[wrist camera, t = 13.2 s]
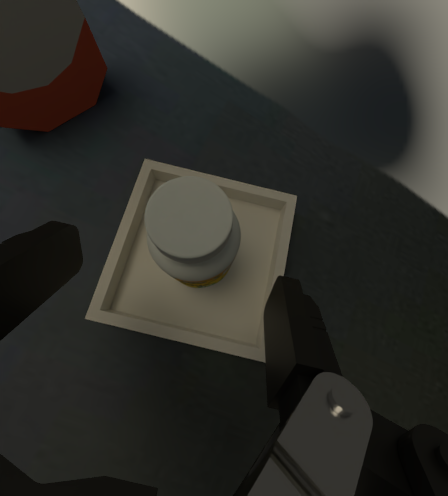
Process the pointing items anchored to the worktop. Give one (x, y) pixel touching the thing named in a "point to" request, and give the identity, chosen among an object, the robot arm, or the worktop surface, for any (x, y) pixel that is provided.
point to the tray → (188, 298)
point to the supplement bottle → (192, 231)
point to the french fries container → (46, 64)
